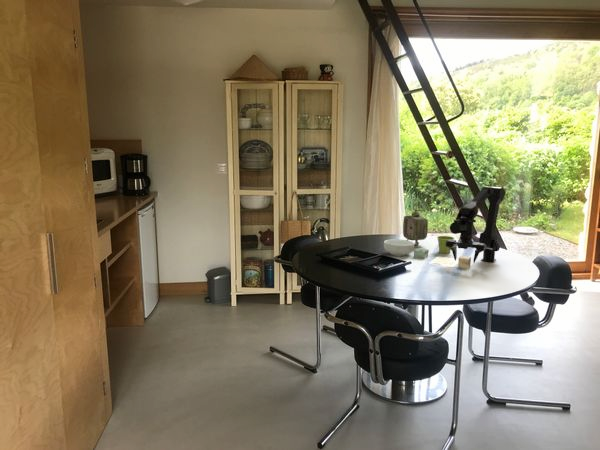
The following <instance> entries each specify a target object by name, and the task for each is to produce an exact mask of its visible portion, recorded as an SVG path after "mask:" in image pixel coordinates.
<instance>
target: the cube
mask: <svg viewBox="0 0 600 450" xmlns="http://www.w3.org/2000/svg"><path fill="white" fill-rule="evenodd" d="M458 259H459V260H458V264H457V268H460V269H461V268H462V269H466V270H467V269H470V267H471V262H472V257H471V256H464V255H460V256H459V257H458Z"/></svg>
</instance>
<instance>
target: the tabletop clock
mask: <svg viewBox="0 0 600 450" xmlns="http://www.w3.org/2000/svg"><path fill="white" fill-rule="evenodd" d="M415 206H417V208H418V209H417V208H415ZM412 209H413V210H414V211H413V212H412V213H411V214H410V215H405V216H403V222H402V233H403V237H404V238H405V240H407V241H415V242H414V248H415V247H417V246H418V245H420V244H419V241H423V240H426V239H427V237H428V232H429V231H428V230H429V229H428V228H429V222H428V219H427V218H426V217H424V216H421V214H420V212H419V211H420V205H419V204H416V203H415V204H413V206H412Z"/></svg>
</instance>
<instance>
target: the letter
mask: <svg viewBox="0 0 600 450" xmlns="http://www.w3.org/2000/svg"><path fill="white" fill-rule="evenodd" d="M458 260H459V258H456V261H455V259H454V257H445V256H436V257H434V259H432V260H430V261H429V262H428V265H433V266H443V267H449V268H454V267H455V266H456V265H458Z"/></svg>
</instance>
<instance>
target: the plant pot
mask: <svg viewBox="0 0 600 450" xmlns="http://www.w3.org/2000/svg"><path fill="white" fill-rule="evenodd" d="M436 238H437V241H438V243H437V244H438V253H441V254H450V253H451V252H452V250H451V249H450V248H448V247H446V242H447V241H448V240H455V237H453V236H448V235H438V236H437V237H436Z"/></svg>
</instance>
